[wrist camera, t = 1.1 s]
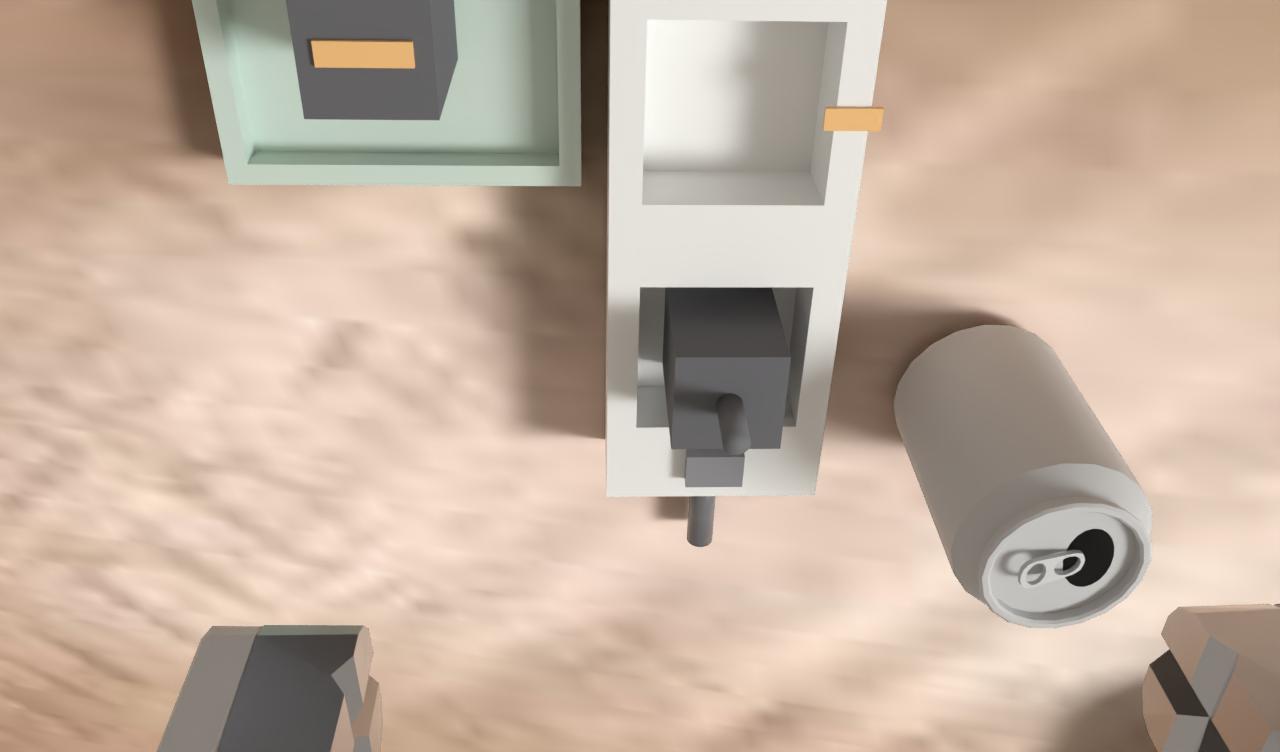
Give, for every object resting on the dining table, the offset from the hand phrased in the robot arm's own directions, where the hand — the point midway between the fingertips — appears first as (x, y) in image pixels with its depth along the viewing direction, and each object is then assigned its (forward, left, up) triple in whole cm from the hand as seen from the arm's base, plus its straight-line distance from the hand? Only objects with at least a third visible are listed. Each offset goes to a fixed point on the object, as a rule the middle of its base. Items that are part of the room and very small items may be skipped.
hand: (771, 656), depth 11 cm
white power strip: (+13, +4, -33) cm, 35 cm away
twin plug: (+15, +3, -32) cm, 35 cm away
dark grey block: (+2, -9, -32) cm, 33 cm away
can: (+19, +15, -33) cm, 41 cm away
